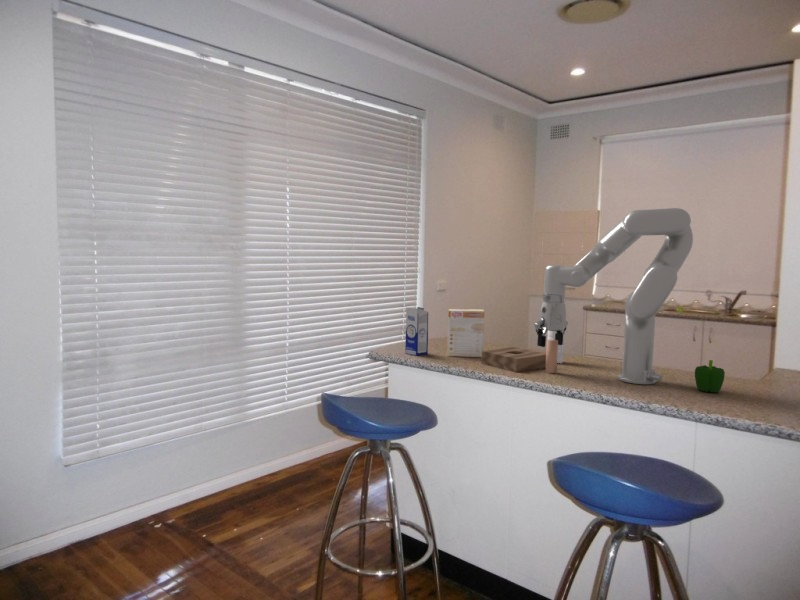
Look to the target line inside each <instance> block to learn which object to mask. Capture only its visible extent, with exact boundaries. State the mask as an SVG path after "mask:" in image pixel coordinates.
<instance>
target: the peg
mask: <svg viewBox="0 0 800 600" xmlns="http://www.w3.org/2000/svg"><path fill="white" fill-rule="evenodd" d="M545 347H546V348H545V349H546V350H545V351H546V352H545V354H546V367H545V371H544V372H546V374H549V373H556V374H557V372H558V364H557V354H558V340H552V339H549V340H547V339H546V345H545Z"/></svg>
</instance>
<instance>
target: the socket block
mask: <svg viewBox="0 0 800 600" xmlns="http://www.w3.org/2000/svg"><path fill="white" fill-rule="evenodd" d="M480 362H481V364H482V365H485V366H486V365H487V366H489V367H493V368H496V369H502V370H506V371H509V372H513V373H520V372H521V373H522V372H527V371H532V370H531V369H533V370H537V369H536V368H539V369H543V368H542V367H545V368H546V352H539V351H535V350H530V349H526V348H520V347H515V346H513V347H503V348H495V349H488V350H483V351H482V357H481V361H480ZM526 370H527V371H526Z"/></svg>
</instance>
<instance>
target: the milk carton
mask: <svg viewBox="0 0 800 600" xmlns="http://www.w3.org/2000/svg"><path fill="white" fill-rule="evenodd" d="M405 310H406V311H405V349H404V350H405V352H404V354H406V355H411V356H414V357H415V356H416V357H417V356H424V355H428V352H429V350H428V348H429V346H428V345H429V315H430V314H429V311H427V310H425V308H424V307H420V306H417V308H415V307H414V308H413V307H406V309H405Z"/></svg>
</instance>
